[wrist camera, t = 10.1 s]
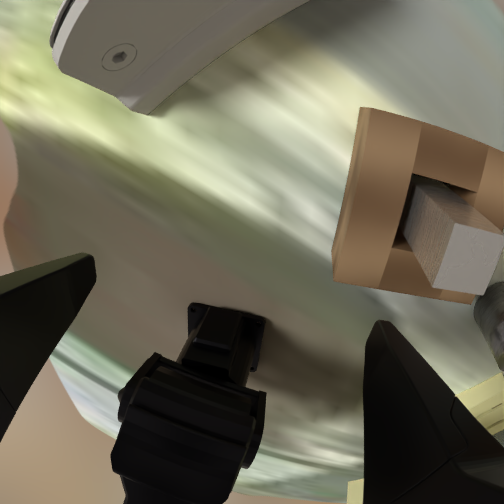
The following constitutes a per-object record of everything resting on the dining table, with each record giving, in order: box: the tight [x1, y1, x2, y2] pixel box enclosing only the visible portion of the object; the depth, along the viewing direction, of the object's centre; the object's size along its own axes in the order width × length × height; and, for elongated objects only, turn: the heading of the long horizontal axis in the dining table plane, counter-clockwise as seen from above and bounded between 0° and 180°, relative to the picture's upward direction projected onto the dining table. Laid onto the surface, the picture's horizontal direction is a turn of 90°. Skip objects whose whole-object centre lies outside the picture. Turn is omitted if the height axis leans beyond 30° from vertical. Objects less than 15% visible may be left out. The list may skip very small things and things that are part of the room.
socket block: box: [331, 107, 504, 305], centre depth 17 cm, size 10×10×4 cm
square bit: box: [398, 175, 504, 295], centre depth 15 cm, size 3×3×9 cm
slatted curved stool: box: [347, 372, 504, 504], centre depth 21 cm, size 30×16×18 cm, turn 35°
